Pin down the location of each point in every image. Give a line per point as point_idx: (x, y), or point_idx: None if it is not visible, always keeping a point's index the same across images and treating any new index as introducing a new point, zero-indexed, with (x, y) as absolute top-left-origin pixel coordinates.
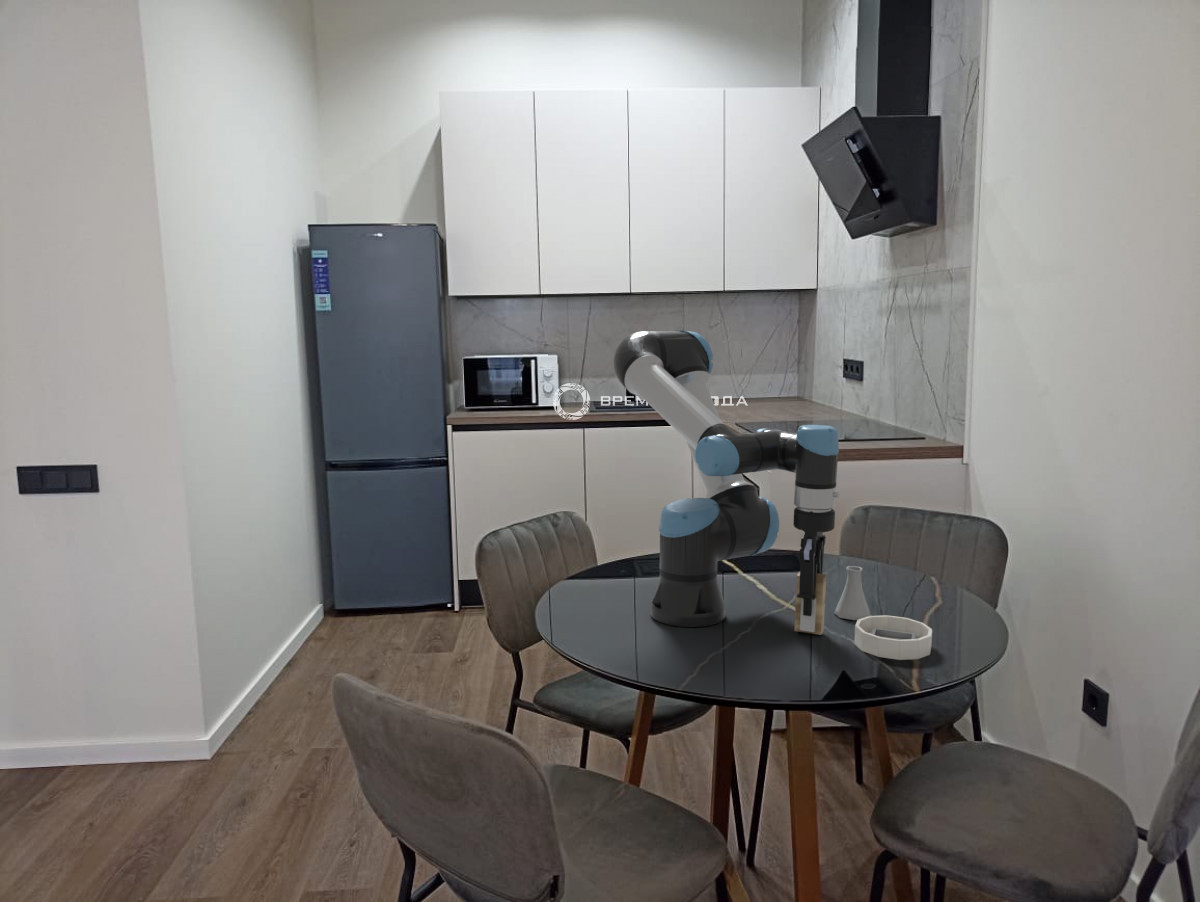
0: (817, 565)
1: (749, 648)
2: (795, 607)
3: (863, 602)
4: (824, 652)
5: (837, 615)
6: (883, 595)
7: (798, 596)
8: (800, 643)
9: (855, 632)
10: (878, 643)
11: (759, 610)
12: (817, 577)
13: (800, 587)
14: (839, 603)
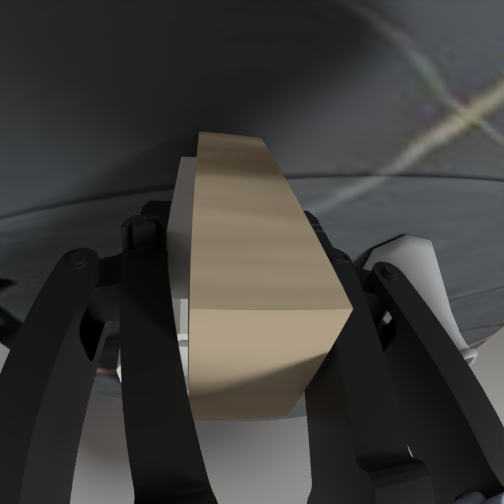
0: (315, 443)
1: (20, 29)
2: (196, 166)
3: (388, 322)
4: (80, 236)
5: (387, 244)
6: (475, 299)
7: (126, 229)
8: (117, 162)
9: (175, 320)
10: (118, 357)
11: (423, 19)
12: (202, 404)
13: (35, 306)
14: (413, 265)
